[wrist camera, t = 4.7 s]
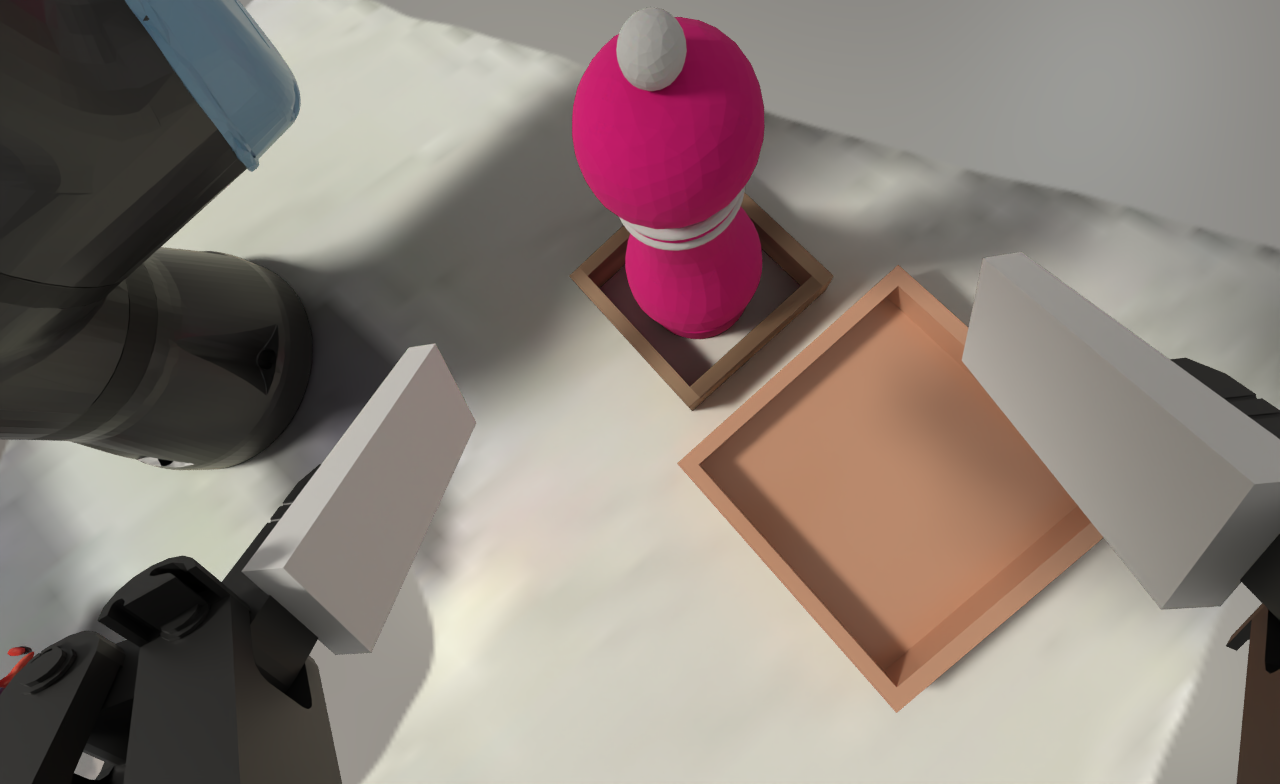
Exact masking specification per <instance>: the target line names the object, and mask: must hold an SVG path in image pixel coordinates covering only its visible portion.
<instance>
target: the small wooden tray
mask: <svg viewBox="0 0 1280 784" xmlns="http://www.w3.org/2000/svg"><path fill="white" fill-rule="evenodd" d="M741 207H742V208H743V209H744V210H745V212H746V213H747V215H748V216H749V218H750V220H751V221H752V223H753V224H754V226H755V228H756V230H757V233H758V236H759V240H760V243H761V248H762V249H763V250H764V251H765V252H766V253H767V254H768V255H769V256H770V257H771V258H772V259H773V260H774V261H775V262H776V263H778V264H779V265H780V266H781V267H782V268H783V269H784V270H785V271H786V272H787V273H788V274H789V275H790V276H791V277H792V278H793V279H794V280H795V281H796V282H797V283H798V284H799V285H800V287H799V288H798V289H797V290H796V291H795V292H794V293H793V294H792V295H791V296H789V297H788V298H787V299H786V300H785V301H784V302H783V303H782V304H781V305H779V306H778V307H777V308H776V309H775V310H774V311H773V312H772V313H771V314H770V315H768V316H767V317H766V318H765V319H764V320H763V321H762V322H761V323H760V324H759V325H757V326H756V327H755V328H754V329H753V330H752V331H751V332H750V333H749V334H747V335H746V336H745V337H744V338H743V339H742V340H741V341H740V342H739V343H738V344H736V345H735V346H734V347H733V348H732V349H731V350H730V351H729V352H728V353H727V354H725V355H724V356H723V357H722V358H721V359H720V360H719V361H718V362H717V363H715V364H714V365H713V366H712V367H711V368H710V369H709V370H708V371H707V372H706V373H704V374H703V375H702V376H701V377H700V378H699V379H698V380H697V381H696V382H695V383H693V384H692V385H691V386H689V385H688V384H687V383H686V382H685V381H684V380H683V379H682V378H681V377H680V376H679V375H678V373H677V372H676V371H675V370H674V369H673V368H672V367H671V366H670V365H669V364H668V363H667V362H666V360H665V359H664V358H663V357H662V356H661V355H660V354H659V353H658V352H657V351H656V350H655V349H654V347H653V346H652V345H651V344H650V343H649V342H648V341H647V340H646V339H645V338H644V337H643V336H642V334H641V333H640V332H639V331H638V330H637V329H636V328H635V327H634V326H633V325H632V324H631V323H630V321H629V320H628V319H627V318H626V317H625V316H624V315H623V314H622V313H621V312H620V311H619V310H618V308H617V307H616V306H615V305H614V304H613V303H612V302H611V301H610V300H609V299H608V298H607V297H606V295H605V294H604V293H603V292H602V291H601V290H600V289H599V288H600V287H601V286H602V285H603V284H605V283H606V282H607V281H608V280H609V279H610V278H611V277H612V276H613V275H614V274H615V273H616V272H617V271H619V270H620V269H621V268H622V267H623V266H624V265H625V256H626V250H627V244H628V239H629V236H630V232H629V231H628V230H627V229H626V228H625V226H624V225H623V226H622V227H621V228H620V229H619V230H618V231H617V232H616V233H615V234H614V235H612V236H611V237H610V238H609V239H608V240H607V241H606V242H605V243H604V244H603V245H602V246H601V247H600V248H599V249H597V250H596V251H595V252H594V253H593V254H592V255H591V256H590V257H589V258H588V259H587V260H586V261H585V262H584V263H582V264H581V265H580V266H579V267H578V268H577V269H576V270H575V271H574V272H573V273H572V274H571V275H570V278H571V279H572V280H573V281H574V282H575V283H576V284H577V285H578V286H579V288H580V289H581V290H582V291H583V292H584V293H585V294H586V295H587V296H588V298H589V299H590V300H591V301H592V302H593V303H594V304H595V305H596V306H597V307H598V308H599V310H600V311H601V312H602V313H603V314H604V315H605V316H606V317H607V318H608V319H609V321H610V322H611V323H612V324H613V325H614V326H615V327H616V328H617V329H618V330H619V331H620V333H621V334H622V335H623V336H624V337H625V338H626V339H627V340H628V341H629V342H630V344H631V345H632V346H633V347H634V348H635V349H636V350H637V351H638V352H639V353H640V354H641V356H642V357H643V358H644V359H645V360H646V361H647V362H648V363H649V364H650V365H651V367H652V368H653V369H654V370H655V371H656V372H657V373H658V374H659V375H660V376H661V377H662V379H663V380H664V381H665V382H666V383H667V384H668V385H669V386H670V387H671V388H672V390H673V391H674V392H675V393H676V394H677V395H678V396H679V397H680V398H681V399H682V401H683V402H684V403H685V404H686V405H687V406H688V407H689V408H690V409H691V410H692V411H693V410H694V409H695V408H696V407H697V406H698V405H699V404H700V403H702V402H703V401H704V400H705V399H706V398H707V397H708V396H709V395H710V394H712V393H713V392H714V391H715V390H716V389H717V388H718V387H719V386H720V385H721V384H723V383H724V382H725V381H726V380H727V379H728V378H729V377H730V376H731V375H733V374H734V373H735V372H736V371H737V370H738V369H739V368H740V367H741V366H743V365H744V364H745V363H746V362H747V361H748V360H749V359H750V358H751V357H752V356H754V355H755V354H756V353H757V352H758V351H759V350H760V349H761V348H762V347H764V346H765V345H766V344H767V343H768V342H769V341H770V340H771V339H772V338H774V337H775V336H776V335H777V334H778V333H779V332H780V331H781V330H782V329H783V328H785V327H786V326H787V325H788V324H789V323H790V322H791V321H792V320H793V319H795V318H796V317H797V316H798V315H799V314H800V313H801V312H802V311H803V310H805V309H806V308H807V307H808V306H809V305H810V304H811V303H812V302H813V301H814V300H816V299H817V298H818V297H819V296H820V295H821V294H822V293H823V292H824V291H826V289H827V287H828V285H829V284H830V282H831V280H832V278H833V277H834V276H833V275H832V274H831V273H830V272H829V271H828V270H827V269H826V268H825V267H824V266H823V265H822V264H821V263H819V262H818V261H817V260H816V259H815V258H814V257H813V256H812V255H811V254H810V253H809V252H808V251H807V250H806V249H805V248H803V247H802V246H801V245H800V244H799V243H798V242H797V241H796V240H795V239H794V238H793V237H792V236H791V235H790V234H788V233H787V232H786V231H785V230H784V229H783V228H782V227H781V226H780V225H779V224H778V223H777V222H776V221H775V220H774V219H772V218H771V217H770V216H769V215H768V214H767V213H766V212H765V211H764V210H763V209H762V208H761V207H760V206H759V205H757V204H756V203H755V202H754V201H753V200H752V199H751V198H750V197H749V196H748V195H747V194H746V193H745V192H744V197H743V201H742V204H741Z"/></svg>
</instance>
